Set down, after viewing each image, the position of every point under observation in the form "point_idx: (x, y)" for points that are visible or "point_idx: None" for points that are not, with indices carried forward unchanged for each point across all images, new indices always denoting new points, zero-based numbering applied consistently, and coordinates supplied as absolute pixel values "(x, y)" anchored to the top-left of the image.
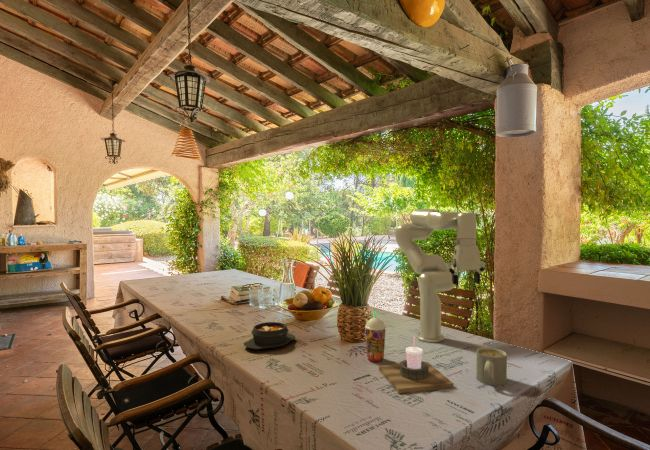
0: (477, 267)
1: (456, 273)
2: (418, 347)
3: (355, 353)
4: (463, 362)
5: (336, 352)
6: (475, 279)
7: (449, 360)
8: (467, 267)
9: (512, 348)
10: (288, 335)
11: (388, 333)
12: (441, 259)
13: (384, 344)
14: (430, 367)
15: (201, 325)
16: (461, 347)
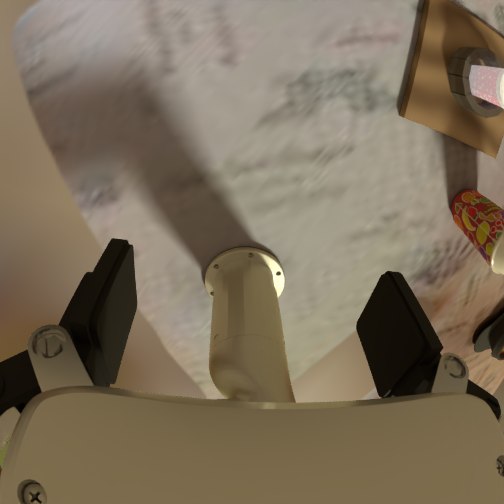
0: (86, 431)
1: (445, 370)
2: (500, 95)
3: (464, 250)
4: (290, 82)
5: (480, 266)
6: (125, 307)
7: (319, 113)
8: (380, 452)
9: (63, 138)
10: (483, 339)
11: (320, 332)
12: None
13: (476, 211)
14: (422, 83)
15: (491, 385)
16: (204, 189)
